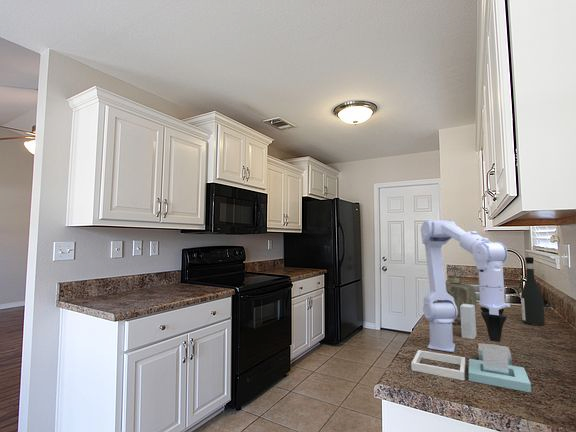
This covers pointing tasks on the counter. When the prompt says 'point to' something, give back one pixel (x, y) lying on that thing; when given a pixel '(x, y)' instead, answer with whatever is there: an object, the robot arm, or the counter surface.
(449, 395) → the counter surface
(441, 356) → the white square frame
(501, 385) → the pale blue window frame
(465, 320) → the skincare box
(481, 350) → the button housing
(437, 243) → the robot arm
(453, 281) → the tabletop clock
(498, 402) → the counter surface
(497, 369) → the billet
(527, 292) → the wine bottle
